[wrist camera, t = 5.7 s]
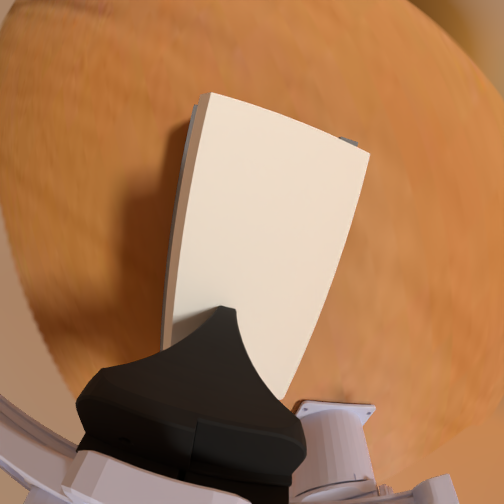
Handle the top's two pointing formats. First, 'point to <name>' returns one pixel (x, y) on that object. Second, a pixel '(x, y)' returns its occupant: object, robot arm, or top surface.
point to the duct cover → (260, 229)
